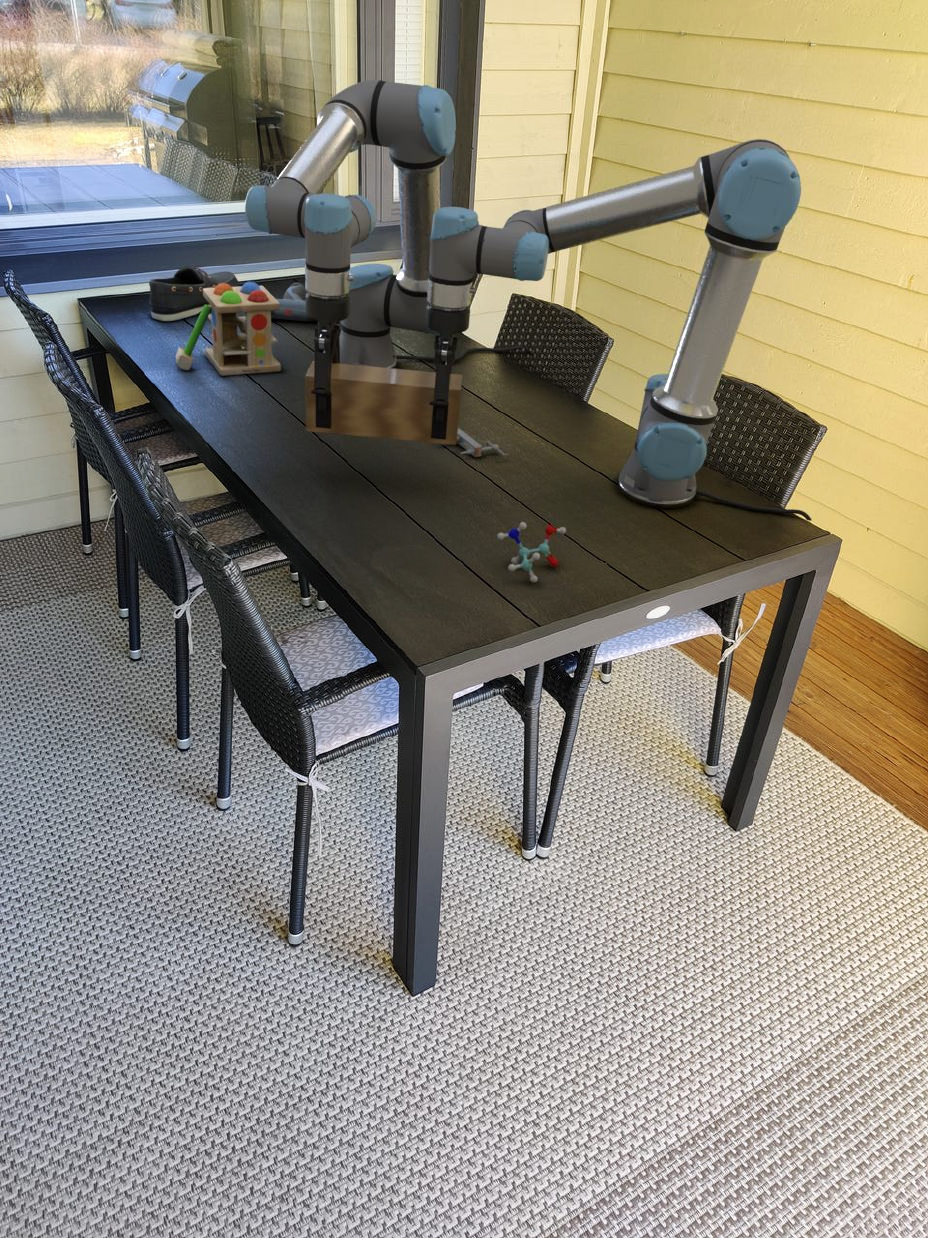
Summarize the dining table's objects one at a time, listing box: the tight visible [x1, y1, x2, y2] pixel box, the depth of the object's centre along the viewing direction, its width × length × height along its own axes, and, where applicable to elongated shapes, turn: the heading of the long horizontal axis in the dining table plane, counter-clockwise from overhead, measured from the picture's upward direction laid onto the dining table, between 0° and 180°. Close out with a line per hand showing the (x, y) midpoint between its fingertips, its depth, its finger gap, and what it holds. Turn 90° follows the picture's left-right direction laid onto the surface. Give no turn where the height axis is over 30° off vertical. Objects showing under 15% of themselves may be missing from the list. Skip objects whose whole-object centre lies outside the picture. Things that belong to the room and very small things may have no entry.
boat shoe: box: [148, 265, 240, 322], centre depth 262 cm, size 13×33×10 cm, turn 147°
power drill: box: [271, 282, 318, 322], centre depth 265 cm, size 5×19×20 cm
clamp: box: [439, 427, 508, 459], centre depth 202 cm, size 15×2×10 cm
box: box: [305, 360, 463, 446], centre depth 179 cm, size 27×8×10 cm, turn 88°
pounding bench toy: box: [174, 281, 282, 377], centre depth 225 cm, size 23×14×18 cm, turn 116°
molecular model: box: [496, 521, 567, 583], centre depth 163 cm, size 12×10×10 cm
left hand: (327, 417), depth 181 cm, fingers closed on box, 8 cm apart
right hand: (439, 428), depth 181 cm, fingers closed on box, 8 cm apart
